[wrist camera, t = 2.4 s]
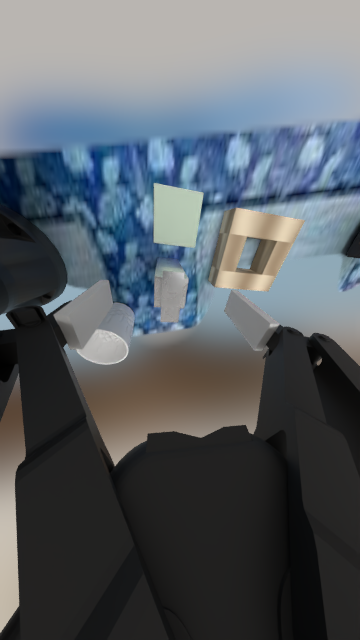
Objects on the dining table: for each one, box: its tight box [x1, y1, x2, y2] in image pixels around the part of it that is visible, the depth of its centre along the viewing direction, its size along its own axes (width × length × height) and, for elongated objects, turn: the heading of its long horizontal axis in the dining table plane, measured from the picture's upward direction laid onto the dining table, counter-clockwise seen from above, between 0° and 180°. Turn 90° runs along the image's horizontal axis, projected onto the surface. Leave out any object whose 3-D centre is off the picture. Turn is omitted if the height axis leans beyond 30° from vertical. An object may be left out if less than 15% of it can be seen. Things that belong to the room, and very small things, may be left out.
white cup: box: [76, 302, 135, 364], centre depth 25 cm, size 8×8×10 cm
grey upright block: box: [154, 257, 189, 322], centre depth 19 cm, size 4×6×14 cm, turn 173°
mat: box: [154, 183, 203, 248], centre depth 20 cm, size 7×7×1 cm
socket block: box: [208, 208, 305, 291], centre depth 23 cm, size 11×11×4 cm
